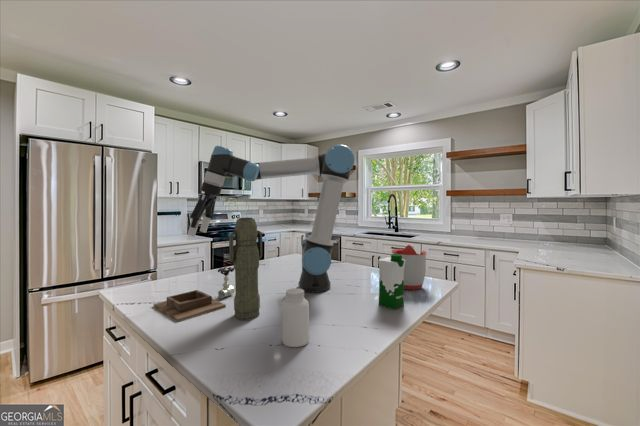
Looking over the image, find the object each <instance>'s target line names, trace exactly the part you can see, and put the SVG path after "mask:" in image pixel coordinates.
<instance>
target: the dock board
mask: <svg viewBox="0 0 640 426" xmlns="http://www.w3.org/2000/svg"><path fill="white" fill-rule="evenodd" d="M153 308H155V309H156V310H158V311H160V312H161V313H163V314H164V315H166V316H168V317H169V318H170V319H172V320H174V321H175V322H177V323H179V322H183V321H185V320H188V319H192V318H196V317H198V316H199V317H200V316H201V315H204V314H208V313H211V312H215V311H219V310H221V309H224V308H226V304H225V303H222V302H220V301H218V300H216V299H213V298H212V295H210V294H207V293H205V292H203V291H200V290H198V289H195V290H191V291H187V292H182V293H179V294H174V295H170V296H167V297H166V300H164V301H161V302H160V301H159V302H156V303H153Z"/></svg>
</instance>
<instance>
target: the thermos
mask: <svg viewBox="0 0 640 426" xmlns="http://www.w3.org/2000/svg"><path fill="white" fill-rule="evenodd" d="M234 241H235V244H234ZM228 245H229V247H228V248H229V249H228V252H229V253H228V254H229V262H230V263H233V268H234V274H235V275H234V279H235V281H234V282H235V285H234V292H235V295H234V298H233V310H234V318H235V319H236V320H239V321H251V320H254V319H257V318H258V317H260V315H261V314H260V308H261V302H260V301H261V299H260V298H261V296H260V294H259V267H260V260H261V259H262V258H263V233H262V232H261V230H258V225H257V222H256V220H255V218H253V217H239V218H237V219H236V222H235V225H234V231H231V233H230V234H229V236H228Z"/></svg>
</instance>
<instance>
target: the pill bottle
mask: <svg viewBox="0 0 640 426" xmlns="http://www.w3.org/2000/svg"><path fill="white" fill-rule="evenodd" d="M281 333H282V334H281V335H282V339H281V340H282V343H283V345H284V346H285V347H288V348H289V347H290V348H301V347H304V346H306V345H307V344H308V343H309V342H310V305H309V301H308V299H306V298H305V291H304V290H303V289H299V288H298V287H297V288H289V289H287V290H286V291H285V299H284V300H283V301H282V303H281Z"/></svg>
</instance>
